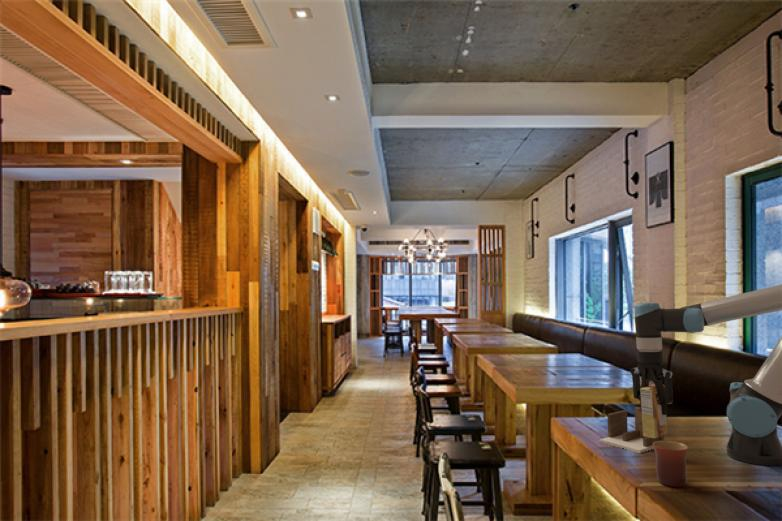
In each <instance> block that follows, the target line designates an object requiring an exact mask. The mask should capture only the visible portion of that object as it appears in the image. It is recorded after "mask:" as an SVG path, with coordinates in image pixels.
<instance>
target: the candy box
mask: <svg viewBox="0 0 782 521" xmlns="http://www.w3.org/2000/svg"><path fill="white" fill-rule="evenodd" d="M663 387H664V390H665V386H664V385H663ZM640 392H641V409H642V425H643V436H644V437H650V438H657V437H659V436H662V435H664V436H665V435H666V434H668V421H667V420H668V419H667V417H666V425H662V426H661V425H659V415H658V404H659V403H660V401H659V397H658V394H657V389H656V387H655V384H649V386H647V387H643V388H640Z"/></svg>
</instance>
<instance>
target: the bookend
mask: <svg viewBox="0 0 782 521" xmlns="http://www.w3.org/2000/svg"><path fill="white" fill-rule="evenodd" d="M634 423H635V424H634V426H635V430H630V431H628V432H626V433H623V441H625V442H626V441H629V440H633V439H636V438H643V446H644V447H648V446H651V445H653V444H652V443H653V442H655V441H665V434H664V435H662V436H659V437H657V438H650V437H644V436H643V425H642V411H641V409H640V407H634Z"/></svg>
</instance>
